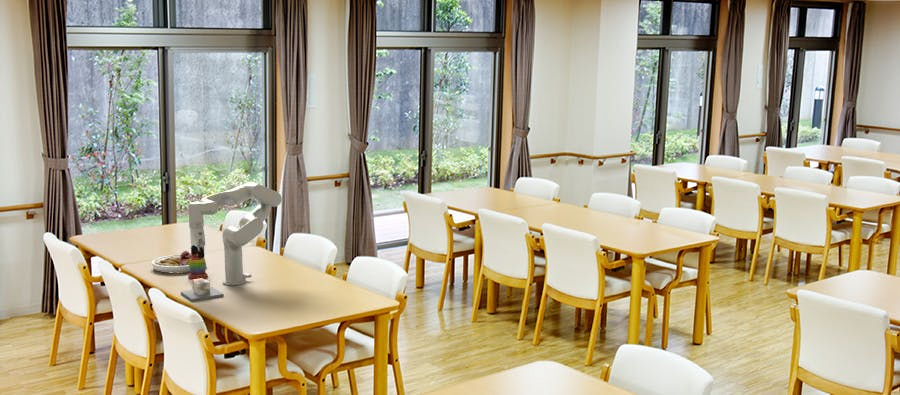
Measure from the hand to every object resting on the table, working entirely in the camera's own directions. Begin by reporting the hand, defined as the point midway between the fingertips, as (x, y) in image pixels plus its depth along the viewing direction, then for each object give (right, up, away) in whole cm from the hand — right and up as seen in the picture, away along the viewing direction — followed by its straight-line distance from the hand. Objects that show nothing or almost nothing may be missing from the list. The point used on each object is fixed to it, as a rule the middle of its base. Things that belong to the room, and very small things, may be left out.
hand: (198, 256), depth 500 cm
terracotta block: (0, -18, +3) cm, 18 cm away
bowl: (-24, -11, +48) cm, 54 cm away
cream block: (+5, -19, -10) cm, 22 cm away
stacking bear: (-8, -14, +28) cm, 32 cm away
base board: (+5, -20, -10) cm, 23 cm away
